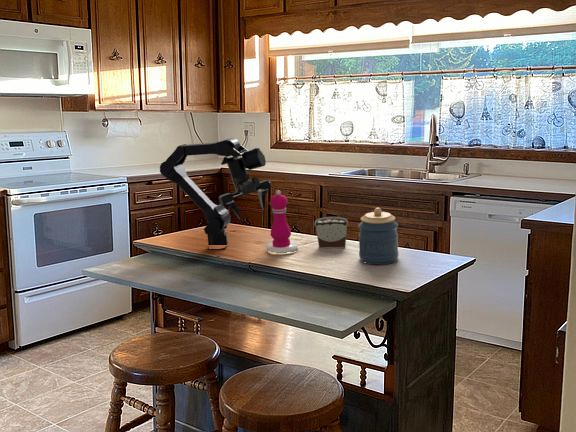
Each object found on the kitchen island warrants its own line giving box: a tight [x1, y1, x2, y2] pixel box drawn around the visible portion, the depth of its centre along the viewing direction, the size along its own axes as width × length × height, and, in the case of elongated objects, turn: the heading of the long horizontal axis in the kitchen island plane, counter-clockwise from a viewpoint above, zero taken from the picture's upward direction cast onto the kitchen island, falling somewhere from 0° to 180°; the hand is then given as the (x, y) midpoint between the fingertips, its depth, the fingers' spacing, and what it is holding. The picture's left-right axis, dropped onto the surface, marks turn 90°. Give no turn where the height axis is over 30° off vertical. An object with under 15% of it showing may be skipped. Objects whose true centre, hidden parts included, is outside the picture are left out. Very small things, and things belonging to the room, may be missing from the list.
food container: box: [313, 216, 350, 249], centre depth 231 cm, size 12×6×10 cm, turn 84°
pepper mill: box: [269, 189, 292, 248], centre depth 226 cm, size 7×7×20 cm
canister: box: [357, 207, 399, 265], centre depth 212 cm, size 13×13×18 cm
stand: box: [266, 240, 299, 253], centre depth 229 cm, size 11×11×2 cm
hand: (252, 214), depth 230 cm, fingers open, 9 cm apart
